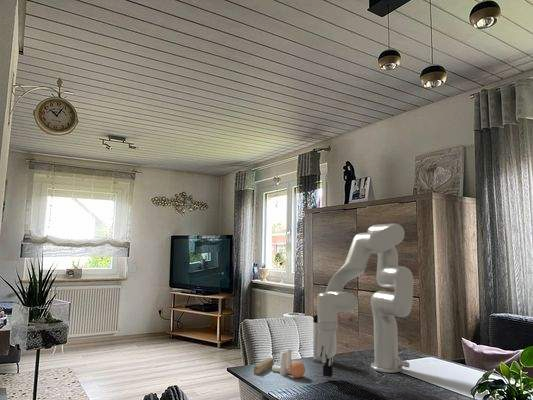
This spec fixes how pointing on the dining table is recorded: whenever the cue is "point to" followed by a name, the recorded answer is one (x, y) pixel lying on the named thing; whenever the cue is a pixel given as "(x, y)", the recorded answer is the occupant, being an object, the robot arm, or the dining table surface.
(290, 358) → the pin
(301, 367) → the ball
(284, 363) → the pin
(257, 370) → the wooden bar
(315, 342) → the travel mug
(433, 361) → the dining table surface
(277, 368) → the front pin
